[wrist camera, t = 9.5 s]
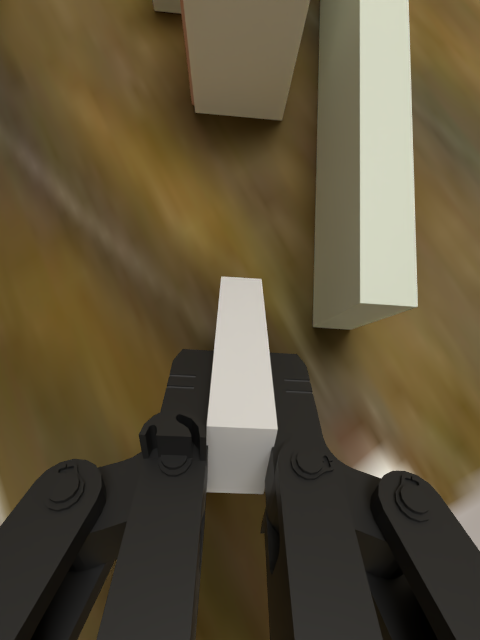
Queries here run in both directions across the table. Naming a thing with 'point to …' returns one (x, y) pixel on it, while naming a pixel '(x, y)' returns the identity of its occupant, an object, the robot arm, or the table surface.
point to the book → (242, 54)
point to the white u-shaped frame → (362, 164)
